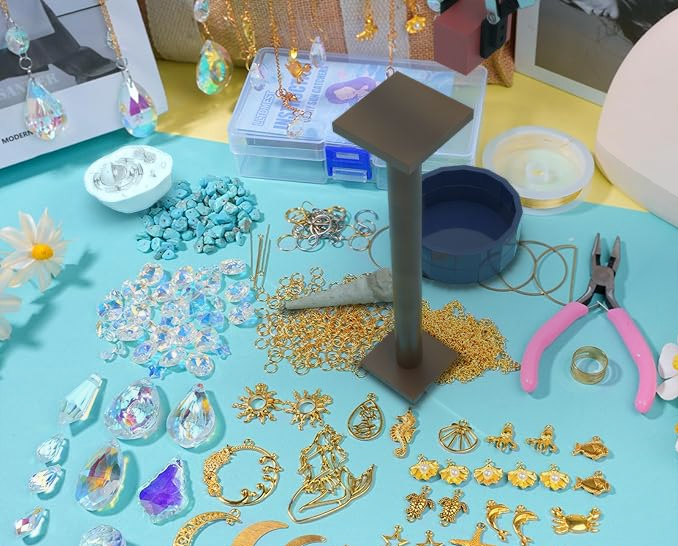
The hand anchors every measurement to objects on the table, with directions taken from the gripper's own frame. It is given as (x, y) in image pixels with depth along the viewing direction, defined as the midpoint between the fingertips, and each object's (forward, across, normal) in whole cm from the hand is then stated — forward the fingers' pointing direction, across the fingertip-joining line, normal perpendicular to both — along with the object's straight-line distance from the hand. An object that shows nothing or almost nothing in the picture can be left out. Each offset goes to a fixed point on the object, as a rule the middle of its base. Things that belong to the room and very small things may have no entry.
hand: (472, 40), depth 80 cm
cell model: (+29, +40, +21) cm, 54 cm away
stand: (+29, -6, +18) cm, 35 cm away
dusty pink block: (+1, 0, 0) cm, 1 cm away
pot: (+29, +1, 0) cm, 29 cm away
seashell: (+29, +5, +16) cm, 34 cm away
